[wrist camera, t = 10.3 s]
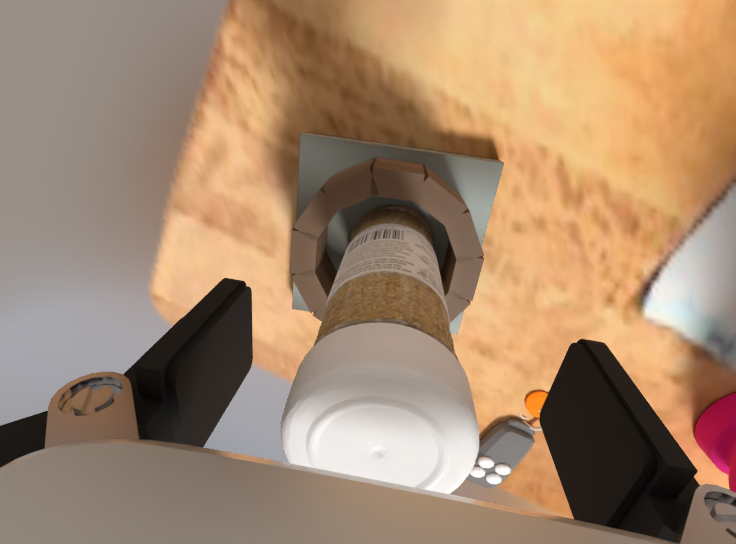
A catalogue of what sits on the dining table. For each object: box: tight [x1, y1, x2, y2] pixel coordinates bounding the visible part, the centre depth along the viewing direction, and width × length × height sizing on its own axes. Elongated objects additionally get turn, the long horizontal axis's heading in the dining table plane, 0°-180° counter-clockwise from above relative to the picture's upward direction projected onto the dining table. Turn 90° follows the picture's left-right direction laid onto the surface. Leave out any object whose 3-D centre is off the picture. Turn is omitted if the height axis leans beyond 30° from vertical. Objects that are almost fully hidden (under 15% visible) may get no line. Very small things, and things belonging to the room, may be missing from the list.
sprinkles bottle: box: [281, 205, 479, 494], centre depth 14 cm, size 5×5×13 cm
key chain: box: [466, 391, 548, 488], centre depth 26 cm, size 13×4×2 cm, turn 155°
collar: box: [290, 132, 504, 334], centre depth 20 cm, size 10×10×4 cm
